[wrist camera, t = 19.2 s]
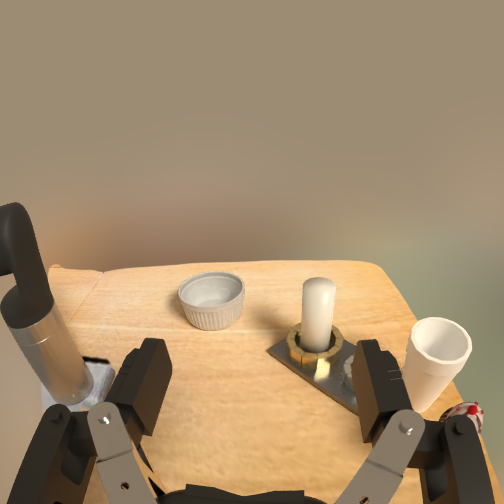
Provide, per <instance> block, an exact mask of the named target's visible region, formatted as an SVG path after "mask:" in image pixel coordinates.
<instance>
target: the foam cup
mask: <svg viewBox="0 0 504 504" xmlns="http://www.w3.org/2000/svg"><path fill="white" fill-rule="evenodd" d="M406 351H407V354H406V358H405V363H404V367H403V372H402V379H403V380H404V383H405V386H406V389H407V392H408V395H409V399H410V402H411V405H412V408H413V410H414V411H416V412H417V413H421V412H423V411H425V410H427V409H428V408H429V407H430V406H431V404H432V403H433V402H434V401H435V400H436V399H437V398H438V396H439V395H440V394H441V393H442V392H443V390H444V389H445V388H446V387H447V385H448V384H449V383H450V382H451V380H452V379H453V378H454V376H455V375H456V374H457V373H458V372H459V371H460V370H461V369H462V367H463V366H464V364H465V362H466V360H467V359H468V356H469V354H470V353H471V351H472V344H471V339H470V337H469V335H468V334H467V332H466V331H465V329H463V328H462V327H461V326H459V325H458V324H457V323H455V322H453V321H450V320H447V319H445V318H437V317H429V318H426V319H423V320H419V321H418V322H417V323H416V324H415V325H414V326H413V327H412V330H411V333H410V335H409V338H408V342H407V349H406Z"/></svg>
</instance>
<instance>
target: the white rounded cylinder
mask: <svg viewBox="0 0 504 504" xmlns="http://www.w3.org/2000/svg"><path fill="white" fill-rule="evenodd" d="M335 295H336V284H335V283H334V282H333V281H332V280H330V279H327V278H322V277H316V278H310V279H308V280H306V281H305V282H304V283H303V297H302V319H301V337H300V349H302V350H303V351H305V352H308V353H315V354H319V353H323V352H327V351H328V350H329V343H330V336H331V328H332V321H333V312H334V304H335Z"/></svg>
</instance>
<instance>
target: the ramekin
mask: <svg viewBox="0 0 504 504" xmlns="http://www.w3.org/2000/svg"><path fill="white" fill-rule="evenodd" d="M244 294H245V286H244V282H243V280H242V279H241V278H240V277H239V276H237V275H235V274H233V273H229V272H225V271H208V272H203V273H199V274H196V275H194V276H192V277H190V278H188V279H186V280H185V281H184V282H183V283H182V284H181V285H180V287H179V289H178V297H179V301H180V302H181V304H182V306H183V309H184V312H185V314H186V317H187V319H188V320H189V321H190V323H191V324H192V325H194V326H195V327H197V328H199V329H202V330H207V331H217V330H222V329H225V328H228V327H230V326H232V325H233V324H234V323H235V322H236V321H237V320H238V319H239V318H240V316H241V314H242V311H243V300H244Z"/></svg>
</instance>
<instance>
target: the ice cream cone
mask: <svg viewBox="0 0 504 504" xmlns="http://www.w3.org/2000/svg"><path fill="white" fill-rule="evenodd" d="M458 414H461V415H465V416H467V417H469V418H470V419H471V420H472V421H473V422H474V424H475V427H476V430H477V433H478V436H479V435H480V433H481V428H482V423H483V410H481V408H480V407H479V406H478V403H477V402H475V403H473V402H463V403H461V404H458V405H457V406H454V407H451V408H450V409H448V410H447V411H445V412H444V413H443V414H442V415H441V417H440V419H439V422H447V420H448V419H449V418H450V417H452V416H454V415H458Z"/></svg>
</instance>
